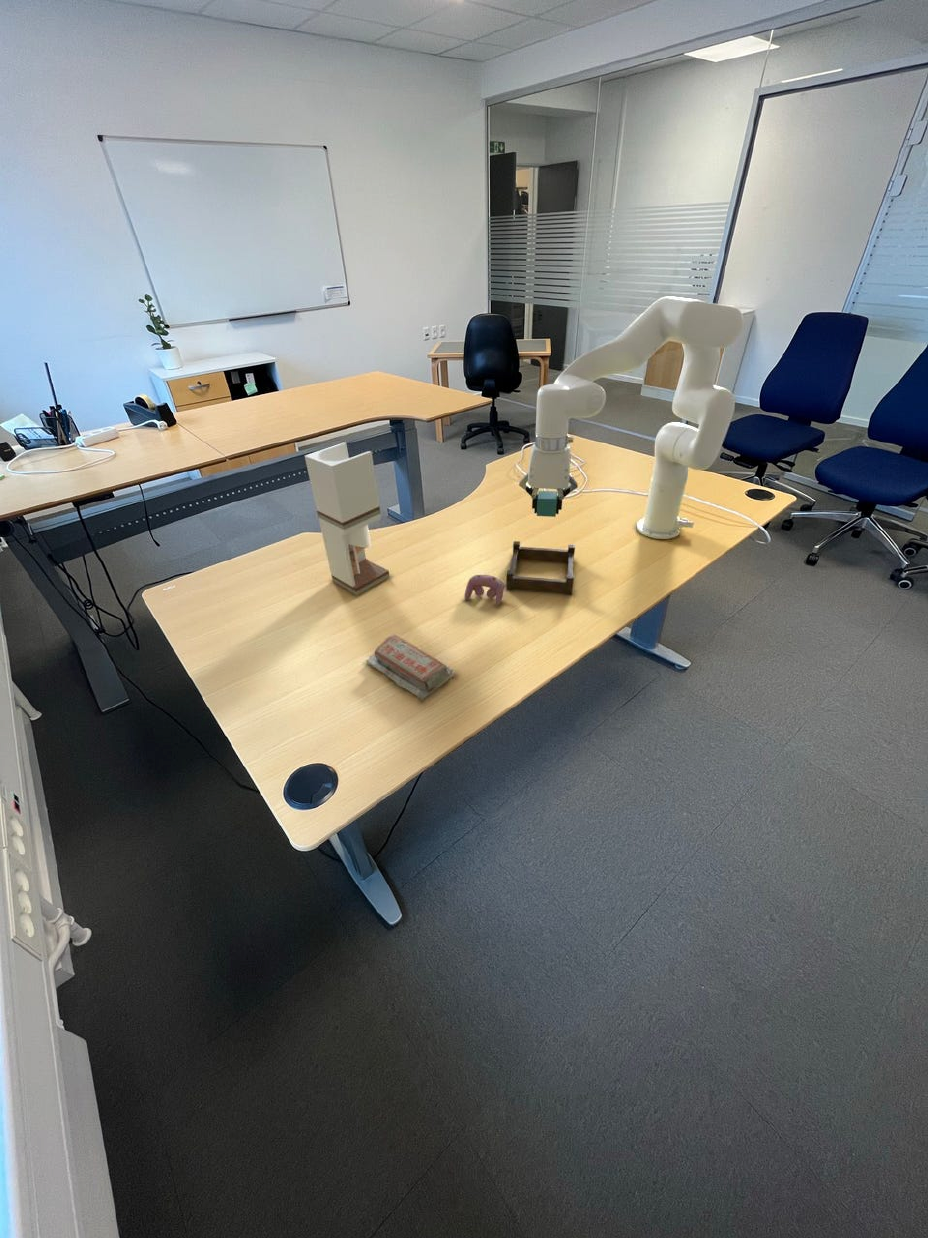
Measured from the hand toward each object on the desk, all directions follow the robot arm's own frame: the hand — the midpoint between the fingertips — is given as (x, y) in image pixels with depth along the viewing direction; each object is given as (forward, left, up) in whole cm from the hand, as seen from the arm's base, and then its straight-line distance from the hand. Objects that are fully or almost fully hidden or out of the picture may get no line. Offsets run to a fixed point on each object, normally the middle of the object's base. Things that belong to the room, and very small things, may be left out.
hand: (546, 510), depth 134 cm
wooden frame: (0, +4, -17) cm, 17 cm away
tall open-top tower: (+49, +13, -17) cm, 53 cm away
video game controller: (+14, +17, -17) cm, 28 cm away
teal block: (0, 0, 0) cm, 0 cm away
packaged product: (+26, +46, -17) cm, 55 cm away
